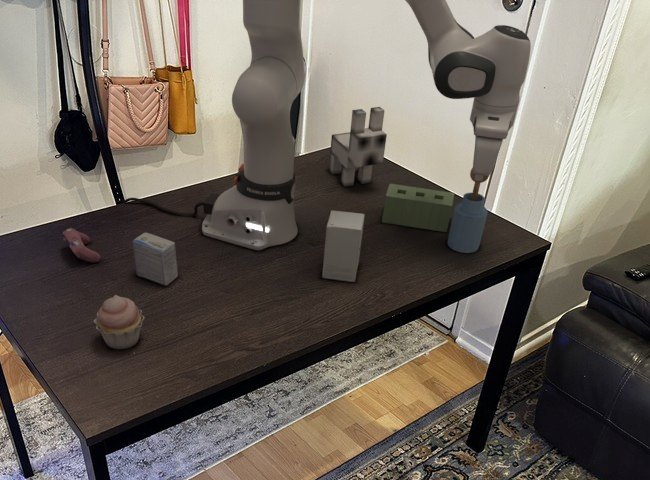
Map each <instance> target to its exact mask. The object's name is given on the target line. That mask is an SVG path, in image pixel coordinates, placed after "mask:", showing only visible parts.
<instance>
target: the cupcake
mask: <svg viewBox="0 0 650 480" xmlns="http://www.w3.org/2000/svg"><path fill="white" fill-rule="evenodd" d="M142 313H143V310H142V309H139V308H138V305H136V304H135V302H134V301H133V300H131V299H130V298H128V297H124V296H120V295H118V294H114V296H113V297H109V298H108V299H105V301H103V304H102V305H101V306H100V308H99V310H98V312H97V313H96V318H94V320H93V323H94V325H95V328H96V330H97V332H99V333H100V334H101V336H102V339H103V341H104V343H105V344H106V345H107V346H108V347H110V348H111V349H115V350H126V349H130V348H131V347H134V346H135V345H136V344H137V343H138V341H139V340H140V333H141V329H142V327H143V323H144V321H145V315H142Z"/></svg>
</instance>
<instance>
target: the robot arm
mask: <svg viewBox="0 0 650 480" xmlns="http://www.w3.org/2000/svg"><path fill="white" fill-rule="evenodd" d="M404 1H405V3H407V5H408V6H409V7H410V9H411V10H412V12H413V14H414V16H415V18H416V20H417V22H418V24H419V26H420V28H421V30H422V32H423V34H424V36H425V38H426V41H427V54H428V56H427V57H428V59H427V60H428V64H429V67H430V70H431V73H432V78H433V81H434V85H435V88H436V90H437V91H438V92H439V93H440V95H442V96H443V97H445V98H448V99H452V100H463V99H464V100H465V99H473V102H472V107H471V111H470V116H469V121H470V123H471V125H472V128H473V135H474V151H473V160H472V168H473V174H475V178H474V179H475V180H476V181H482V180H483V177H484V176H489V177H490V175H491V173H493V170H494V168H495V165H496V162H497V159H498V156H499V153H500V150H501V148H502V145H503V142H504V140H506V139H507V137H508V134H509V131H510V130H511V128H513V126H514V124H515V120H516V116H517V112H518V109H519V105H520V100H521V98H520V97H521V96H520V94H521V93H520V92H521V88H522V86H523V84H524V83H525V81H526V77H527V72H528V67H529V64H530V58H531V52H532V51H531V49H532V44H531V40H530V38H529V36H528V35H527V34H526V32H524V31H523V30H521V29H519V28H516V27H514V26H511V25H505V24H499V25H498V24H497V25H495V26H493V27H492V28H491V29H489V30H487V31H486V32H485V33H482V34H481V35H478V36H476V37H475V36H474V35H473V34H472V33H471V32H470V31H469V30H468V29H466V28H465V27H463V26H462V25H461V24H459V23H458V21H457V20H456V19H455V17H454V15H453V12H452V11H451V8H450V5H449V4H448V2H447V0H404ZM301 7H302V0H242V23H243V27H244V29H245V30H246V33H247V35H248V40H249V44H250V45H249V46H250V51H251V60H250V64H249V66H248V67H247V68H246V69H245V70H244V71H243V72H242V73H241V74H240V75H239V77H238V78H237V81H236V83H235V85H234V88H233V91H232V95H231V105H232V108H233V111H234V114H235V115H236V117H237V118H238V120H239V124H240V128H241V133H242V139H243V140H242V141H243V163H242V164H241V165H240V166H239V167H238V169H237V170H238V172H236V174H235V178H234V180H233V185H234V186H232V187H230V188H228V189H227V190H225V191H223V192H222V193H221V194H218V193H217V194H216V193H211V194H210V195H209V196H208V197H207V198H206V199H205V200H204V201H199V202H197V203H196V204H195V205H194V206H193V207H194V208H193V210H194V212H193V213H189V214H186V213H180V212H178V211H175V210H172V209H168V208H165V207H163V206H161V205H159V204H157V203H155V202H153V201H150V200H145V199H142V198H138V197H128V198H125V200H123V201H122V204H127V203H128V202H129V203H130V202H133V201H135V202H139V203H142V204H146V205H150V206H152V207H154V208H156V209H158V210H161V211H162V212H165V213H169V214H171V215H175V216H178V217H188V218H194V217H196V216H197V215H198V213H199V211H198V208H200V206H203V214H205V215H206V216H205V217H204V218H203V221H202V224H201V232H202V234H203V236H206V237H209V238H212V239H215V240H219V241H222V242H226V243H230V244H233V245H237V246H240V247H244V248H248V249H251V250H254V251H261V250H264V249H267V248H269V247H274V246H279V245H284V244H286V243H289V242H291V241H293V239H295V238H296V236H297V235H298V233H299V229H298V226H297V221H296V215H295V207H294V200H295V196H296V186H297V185H296V174H295V171H294V170H295V149H296V141H295V137H294V136H293V132H292V126H291V109H292V105H293V103H294V101H295V99H296V98H297V97H298V96H299V94H300V93H301V91H302V90H303V87H304V84H305V80H306V75H307V65H306V62H305V59H304V48H303V42H302V40H303V39H302V31H301ZM137 200H140V201H137Z"/></svg>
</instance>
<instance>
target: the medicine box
mask: <svg viewBox="0 0 650 480" xmlns="http://www.w3.org/2000/svg"><path fill="white" fill-rule="evenodd" d="M132 249H133V256H134V264H135V265H134V266H135V272H136V275H137V276H138V277H141V278H144V279H146V280H149V281H152V282H154V283H157V284H159V285H161V286H165V287H166V286H168V285H169V284H171V283H172V282H173V281H174V280H175V279H177V278H179V273H178V262H177V251H176V243H175V242H174V241H172V240H169V239H167V238H163V237H161V236H158V235H155V234H153V233H149V232H147V231H145V232H143V233H142V234H140V235H139V236H137V237H136V238H135V239H133V240H132Z"/></svg>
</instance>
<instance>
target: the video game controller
mask: <svg viewBox="0 0 650 480" xmlns="http://www.w3.org/2000/svg"><path fill="white" fill-rule="evenodd" d="M62 235H63V241H64V243H66V244H67V243H69V248H70V249H71V252H72V253H73V254H74V255H75V256H76V257H77V258H78V259H80V260H81V261H82V260H83V261H86V262H89V263H98V262H100V261H101V255H100V254H99V253H98V252H97V251H94V250H91V248H88V247H87V246H85V245H88V244H89V243H90V242H91V240H90V239H91V238H90V237H89V236H88V235H87V234H85V233H84V232H80V231H78V230H77V229H75V228H72V227H70V228H67V229H65V230H64V231H62Z"/></svg>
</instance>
